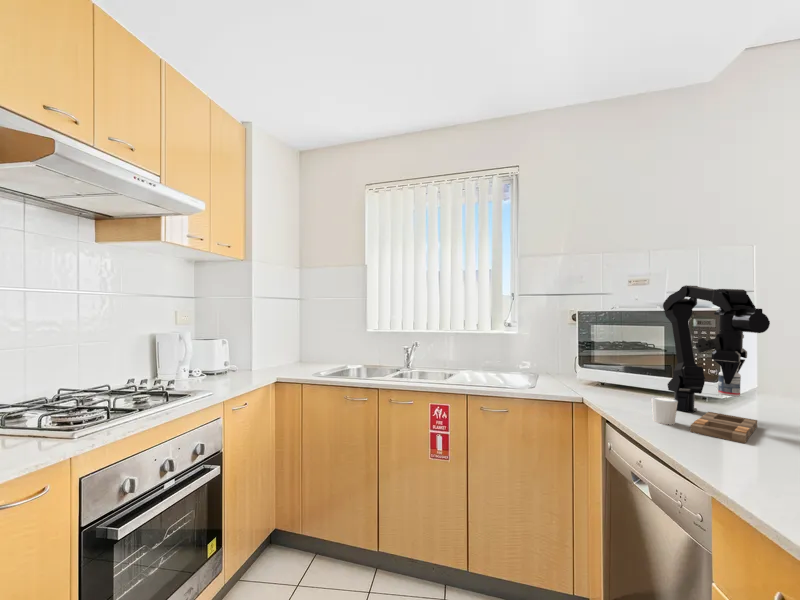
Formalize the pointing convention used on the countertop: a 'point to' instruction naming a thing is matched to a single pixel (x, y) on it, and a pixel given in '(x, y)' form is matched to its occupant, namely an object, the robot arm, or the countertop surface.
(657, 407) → the white cylinder
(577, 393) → the countertop surface
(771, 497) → the countertop surface
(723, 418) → the rail
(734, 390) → the pill bottle
